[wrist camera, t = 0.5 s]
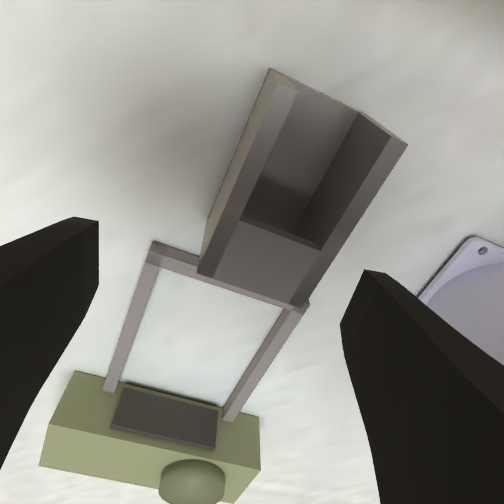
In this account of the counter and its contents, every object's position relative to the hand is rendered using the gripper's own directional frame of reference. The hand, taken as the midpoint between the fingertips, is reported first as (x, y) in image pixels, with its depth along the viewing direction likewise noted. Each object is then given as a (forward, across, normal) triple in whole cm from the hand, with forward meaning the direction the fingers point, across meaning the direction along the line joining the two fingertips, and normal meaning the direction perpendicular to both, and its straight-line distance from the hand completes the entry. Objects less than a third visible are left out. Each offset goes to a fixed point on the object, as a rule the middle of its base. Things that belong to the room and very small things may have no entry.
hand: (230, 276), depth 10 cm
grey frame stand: (+9, +1, +14) cm, 17 cm away
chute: (+10, -2, 0) cm, 10 cm away
